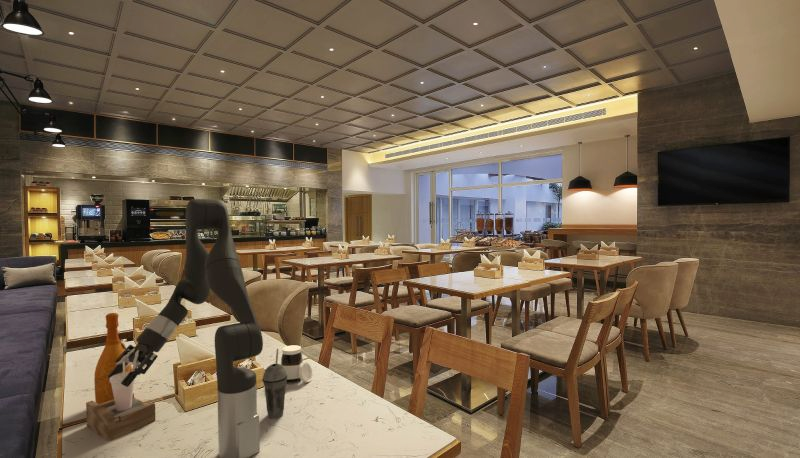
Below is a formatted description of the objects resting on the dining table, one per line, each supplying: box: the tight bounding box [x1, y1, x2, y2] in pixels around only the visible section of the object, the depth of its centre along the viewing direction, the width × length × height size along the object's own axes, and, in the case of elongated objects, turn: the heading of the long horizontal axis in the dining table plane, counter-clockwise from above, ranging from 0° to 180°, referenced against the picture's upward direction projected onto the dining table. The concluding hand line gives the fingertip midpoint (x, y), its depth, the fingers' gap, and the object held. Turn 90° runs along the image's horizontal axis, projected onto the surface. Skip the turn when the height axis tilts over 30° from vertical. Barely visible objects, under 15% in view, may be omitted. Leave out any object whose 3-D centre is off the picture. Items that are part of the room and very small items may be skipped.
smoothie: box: [109, 361, 135, 411], centre depth 115 cm, size 6×6×14 cm
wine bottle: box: [93, 312, 133, 404], centre depth 126 cm, size 10×10×30 cm
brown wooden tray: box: [85, 392, 156, 441], centre depth 114 cm, size 14×12×7 cm
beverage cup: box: [262, 348, 287, 419], centre depth 119 cm, size 7×7×20 cm
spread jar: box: [280, 344, 313, 384], centre depth 145 cm, size 12×11×12 cm
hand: (117, 382), depth 113 cm, fingers open, 8 cm apart
